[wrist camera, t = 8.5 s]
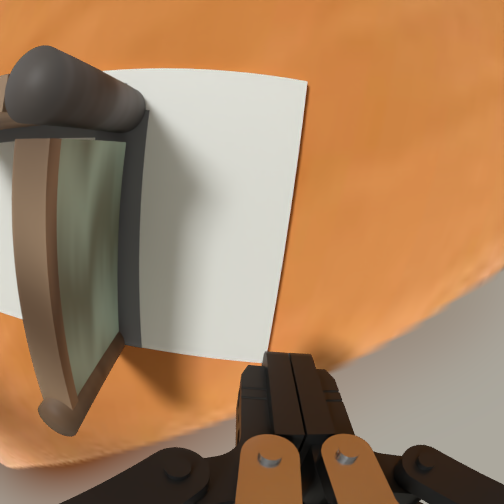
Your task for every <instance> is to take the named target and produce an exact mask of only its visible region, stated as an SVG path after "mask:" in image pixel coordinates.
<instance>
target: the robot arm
mask: <svg viewBox="0 0 504 504" xmlns="http://www.w3.org/2000/svg"><path fill="white" fill-rule="evenodd" d="M338 391H339V390H338V388H337V385H336V382H335V379H334V378H333V377H332V376H331V375H330V374H329V373H328V372H327V371H326V370H324V369H316V367H315V364H314V361H313V358H312V355H311V354H298V353H281V352H268V351H265V353H264V356H263V361H262V366H253V365H248V366H247V367H246V369H245V370H244V372H243V373H242V375H241V381H240V388H239V394H238V401H237V407H236V447H235V448H234V449H233V450H231V451H230V452H228V453H226V454H223V455H220V456H215V457H209V458H202V457H201V456H200V455H199V454H197V453H195V452H193V451H191V450H188V449H185V448H176V447H174V448H166V449H163V450H160V451H158V452H156V453H154V454H153V455H151V456H149V457H148V458H146V459H144V460H143V461H141V462H139V463H138V464H136V465H134V466H132V467H131V468H129V469H127V470H125V471H123V472H122V473H120V474H118V475H116V476H114V477H112V478H111V479H109V480H107V481H105V482H103V483H102V484H99V485H97V486H95V487H94V488H91V489H89V490H87V491H86V492H83V493H81V494H79V495H77V496H75V497H73V498H71V499H69V500H67V501H64V502H62V503H60V504H423V503H421V502H419V501H420V500H421V499H422V500H424V501H425V502H427V503H429V504H504V485H503V484H501V483H499V482H497V481H495V480H493V479H491V478H489V477H487V476H485V475H483V474H481V473H479V472H477V471H475V470H473V469H471V468H469V467H467V466H466V465H464V464H462V463H460V462H458V461H456V460H454V459H452V458H451V457H449V456H447V455H445V454H443V453H441V452H440V451H438V450H436V449H434V448H432V447H429V446H426V445H416V446H412V447H410V448H409V449H407V450H406V451H405V453H404V454H403V455H402V456H396V455H389V454H381V453H377V452H373V450H372V449H371V447H370V446H369V444H368V443H367V442H366V441H365V440H363V439H361V438H360V437H357V436H355V434H354V431H353V429H352V426H351V423H350V420H349V417H348V415H347V412H346V409H345V406H344V404H343V402H342V398H341V396H340V393H339V392H338Z"/></svg>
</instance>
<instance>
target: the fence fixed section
mask: <svg viewBox="0 0 504 504" xmlns="http://www.w3.org/2000/svg"><path fill="white" fill-rule="evenodd" d="M145 110H146V104H145V100H144V97H143V95H142V94H141V93H140V92H139V91H138V90H136V89H134V88H133V87H131V86H129V85H127V84H125V83H123V82H122V81H120V80H118V79H116V78H114V77H112V76H110V75H108V74H106V73H105V72H103V71H101V70H99V69H97V68H95V67H93V66H91V65H89V64H87V63H85V62H83V61H81V60H79V59H77V58H75V57H73V56H71V55H68V54H66V53H64V52H62V51H60V50H58V49H56V48H54V47H51V46H39V47H36V48H34V49H32V50H30V51H28V52H27V53H26V54H25V55H24V56H22V57H21V59H20V60H19V61H18V62H17V63H16V65H15V66H14V68H13V69H12V71H11V73H10V74H6V75H2V76H0V130H3V129H11V128H19V127H28V126H38V125H48V126H60V127H70V128H80V129H89V130H97V131H105V132H113V133H126V132H129V131H131V130H133V129H134V128H135V127H137V126H138V124H139V123H140V122H141V120H142V119H143V116H144V113H145Z"/></svg>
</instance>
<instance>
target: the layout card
mask: <svg viewBox="0 0 504 504" xmlns="http://www.w3.org/2000/svg"><path fill="white" fill-rule="evenodd" d="M103 72H105V73H106V74H108V75H110V76H112V77H114V78H116V79H118V80H120V81H122V82H123V83H125V84H127V85H129V86H131V87H133V88H134V89H136V90H138V91H139V92H140V93H141V94H142V95H143V97H144V100H145V104H146V110H145V113H144V116H143V119H142V120H141V122H140V123H139V124H138V126H137V127H135V128H134V129H133V130H131V131H129V132H126V133H113V132H105V131H97V130H89V129H80V128H70V127H60V126H48V125H38V126H28V127H19V128H11V129H3V130H0V312H1V313H4V314H8V315H11V316H14V317H17V318H20V319H23V318H22V313H21V307H20V301H19V295H18V288H17V280H16V272H15V262H14V250H13V235H12V171H13V156H14V144H15V139H37V138H57V139H83V140H101V141H116V142H126V148H125V157H124V165H123V175H122V186H121V198H120V212H119V231H118V268H117V286H118V323H119V332H120V333H121V334H122V336H123V338H124V341H125V345H129V346H134V347H140V348H148V349H154V350H160V351H166V352H172V353H179V354H186V355H193V356H200V357H208V358H216V359H225V360H235V361H245V362H256V363H262V361H263V356H264V353H265V351H267V350H268V345H269V339H270V333H271V328H272V322H273V316H274V311H275V305H276V299H277V293H278V287H279V281H280V275H281V269H282V263H283V256H284V250H285V244H286V237H287V231H288V224H289V217H290V211H291V204H292V197H293V190H294V183H295V176H296V169H297V161H298V154H299V146H300V139H301V131H302V123H303V115H304V107H305V98H306V90H307V81H302V80H296V79H290V78H283V77H277V76H269V75H262V74H253V73H244V72H233V71H221V70H205V69H170V68H160V69H126V70H110V71H103Z"/></svg>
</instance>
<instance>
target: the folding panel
mask: <svg viewBox="0 0 504 504" xmlns="http://www.w3.org/2000/svg"><path fill="white" fill-rule="evenodd" d="M125 148H126V142H116V141H101V140H83V139H57V138H37V139H15V144H14V156H13V171H12V235H13V250H14V262H15V272H16V280H17V288H18V295H19V301H20V307H21V313H22V318H23V323H24V328H25V333H26V338H27V342H28V347H29V351H30V355H31V359H32V362H33V366H34V370H35V373H36V377H37V380H38V384H39V387H40V390H41V393H42V396H43V399H44V400H43V401H42V403H41V404H40V406H39V407H38V412H39V415H40V417H41V418H42V420H43V421H44V422H45V423H46V424H47V425H48V426H49V427H50V428H51V429H53V430H54V431H56V432H57V433H59V434H62V435H64V436H75V435H76V433H77V431H78V429H79V428H80V426H81V424H82V422H83V420H84V418H85V416H86V414H87V412H88V410H89V409H90V407H91V405H92V403H93V401H94V399H95V398H96V396H97V394H98V392H99V390H100V388H101V387H102V385H103V383H104V381H105V380H106V378H107V376H108V374H109V372H110V371H111V369H112V367H113V365H114V364H115V362H116V360H117V358H118V357H119V355H120V353H121V352H122V350H123V348H124V345H125V341H124V338H123V336H122V334H121V333H120V332H119V323H118V286H117V268H118V231H119V212H120V198H121V186H122V175H123V165H124V157H125Z"/></svg>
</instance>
